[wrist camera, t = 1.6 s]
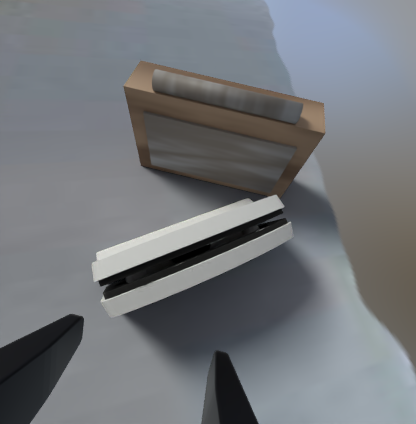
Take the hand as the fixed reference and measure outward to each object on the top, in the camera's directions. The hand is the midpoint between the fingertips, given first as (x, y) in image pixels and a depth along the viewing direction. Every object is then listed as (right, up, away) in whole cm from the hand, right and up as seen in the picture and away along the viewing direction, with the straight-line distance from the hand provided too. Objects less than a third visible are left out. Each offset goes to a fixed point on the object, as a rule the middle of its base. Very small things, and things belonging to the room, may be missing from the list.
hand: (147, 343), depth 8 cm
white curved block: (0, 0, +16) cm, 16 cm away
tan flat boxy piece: (+3, +9, +21) cm, 23 cm away
